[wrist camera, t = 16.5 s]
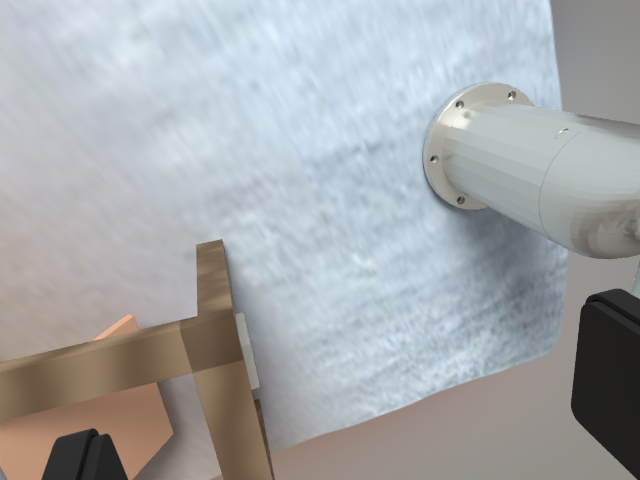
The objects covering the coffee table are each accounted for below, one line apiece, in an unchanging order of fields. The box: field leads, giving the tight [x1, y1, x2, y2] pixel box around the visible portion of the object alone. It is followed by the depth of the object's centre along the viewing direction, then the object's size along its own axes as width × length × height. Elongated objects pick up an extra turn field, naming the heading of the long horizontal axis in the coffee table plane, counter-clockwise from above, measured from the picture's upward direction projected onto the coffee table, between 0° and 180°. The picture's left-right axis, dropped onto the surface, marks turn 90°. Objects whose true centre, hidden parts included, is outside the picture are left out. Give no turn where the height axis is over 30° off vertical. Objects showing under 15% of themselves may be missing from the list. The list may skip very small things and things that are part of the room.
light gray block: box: [235, 312, 260, 390], centre depth 47 cm, size 5×5×6 cm
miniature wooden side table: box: [0, 239, 275, 480], centre depth 41 cm, size 25×22×14 cm
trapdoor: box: [0, 315, 174, 480], centre depth 38 cm, size 21×14×4 cm
